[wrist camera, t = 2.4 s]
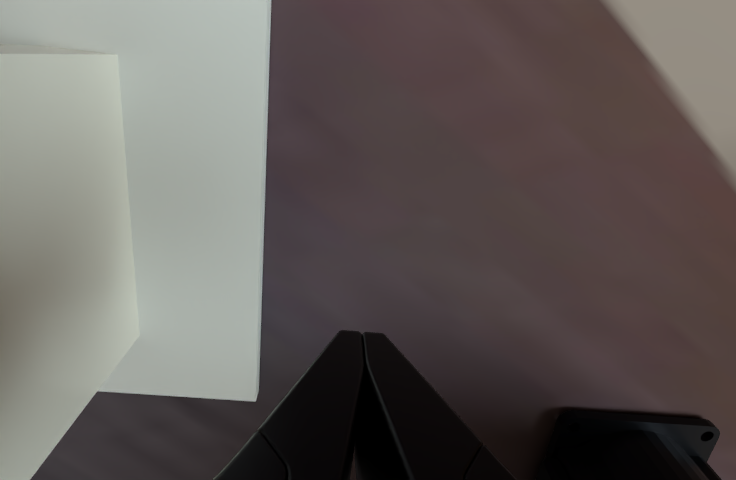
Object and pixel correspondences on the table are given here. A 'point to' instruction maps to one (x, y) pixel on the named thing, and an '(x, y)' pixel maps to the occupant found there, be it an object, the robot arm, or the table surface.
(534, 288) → the table surface
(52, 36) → the mat
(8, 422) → the tile
